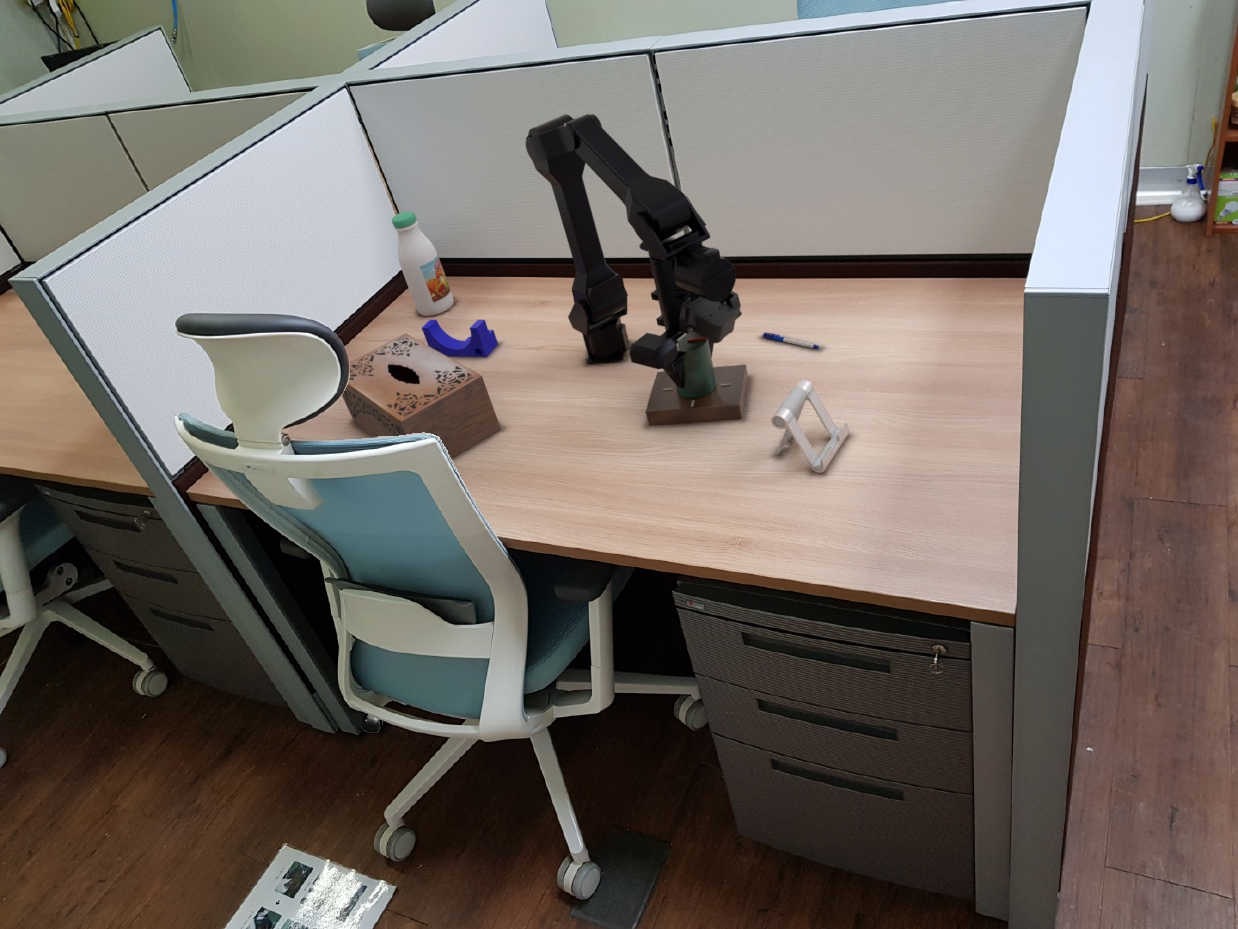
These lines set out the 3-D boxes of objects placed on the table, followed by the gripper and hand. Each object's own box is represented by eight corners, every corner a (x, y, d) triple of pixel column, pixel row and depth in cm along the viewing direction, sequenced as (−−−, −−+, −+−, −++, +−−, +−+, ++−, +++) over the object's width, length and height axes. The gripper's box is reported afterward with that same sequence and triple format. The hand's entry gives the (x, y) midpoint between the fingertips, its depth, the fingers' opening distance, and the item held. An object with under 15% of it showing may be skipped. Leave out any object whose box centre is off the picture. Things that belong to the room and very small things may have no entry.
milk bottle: (424, 320, 186) (388, 227, 174) (414, 308, 192) (378, 217, 180) (459, 306, 188) (426, 213, 176) (448, 294, 194) (415, 203, 182)
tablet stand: (825, 474, 120) (819, 421, 116) (770, 464, 125) (762, 413, 120) (849, 436, 126) (845, 384, 121) (795, 427, 130) (789, 377, 125)
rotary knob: (674, 399, 138) (663, 351, 133) (679, 378, 142) (669, 330, 138) (713, 396, 136) (704, 348, 131) (718, 374, 141) (709, 327, 136)
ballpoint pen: (761, 338, 152) (761, 333, 151) (764, 336, 152) (764, 330, 152) (817, 350, 145) (817, 344, 145) (820, 347, 146) (820, 342, 145)
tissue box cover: (500, 428, 147) (482, 375, 141) (423, 475, 141) (400, 421, 135) (425, 381, 165) (405, 333, 159) (353, 421, 159) (331, 372, 153)
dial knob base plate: (648, 425, 138) (645, 410, 137) (660, 385, 147) (656, 370, 145) (741, 419, 135) (739, 403, 133) (748, 377, 143) (745, 363, 141)
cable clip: (498, 344, 171) (488, 315, 167) (486, 357, 167) (476, 328, 164) (444, 343, 176) (434, 315, 172) (432, 355, 172) (421, 327, 169)
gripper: (679, 323, 119) (699, 422, 128) (761, 259, 129) (774, 355, 138) (615, 309, 126) (638, 404, 135) (698, 250, 136) (714, 342, 145)
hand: (694, 376), depth 138 cm, fingers closed on rotary knob, 6 cm apart
